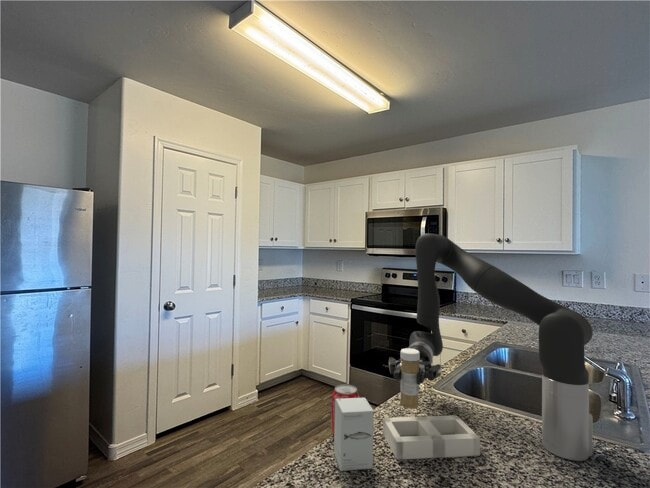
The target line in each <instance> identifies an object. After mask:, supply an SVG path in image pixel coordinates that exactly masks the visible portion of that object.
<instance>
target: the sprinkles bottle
mask: <svg viewBox="0 0 650 488" xmlns="http://www.w3.org/2000/svg"><path fill="white" fill-rule="evenodd" d="M400 359H401V379H400V402H399V404H400V406H401V407H403V408H405V409H410V410H412V409H418V408H419V407H420V406H419V405H420V403H419V391H420V385H418V384H417V374H418V372H419V359H420V352H419V351H418V350H416V349H410V348H408V347H405V348H401V350H400Z"/></svg>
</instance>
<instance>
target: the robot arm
mask: <svg viewBox="0 0 650 488" xmlns="http://www.w3.org/2000/svg"><path fill="white" fill-rule="evenodd" d="M414 248H415V261H416V262H415V263H416V264H415V265H416V274H417V275H416V276H417V287H418V289H417V309H416V322H417V323H418V324H419V325H421V326H423V327H426V328H428V329H429V330H430V332H427V331H421V330H417V331H415V330H414V331H413V332H412V333H411V334H410V336H409V346H408V347H407V348H410V349H416V350H418V351H419V352H420V359H419V372H418V374H417V384H418V385H419V386H421V384H423V383H425V381H426V379H427V380H428V381H430V382H432V381H435V380H436V379H437V378H438V377H440V376H441V375H442V365H441V364H439V363H436V364H433V362H434V360H433V359H434V357H438V356H440V355H441V353H442V352H443V349H444V345H443V339H442V333H441V329H440V321H439V320H440V309H441V299H440V298H441V297H440V294H439V288H438V287H437V282H436V275H435V274H436V273H435V272H436V264H437V263H439V264H441V265H443V266H445V267H447V268H449V269H450V270H452V271H454V272H455V273H456V274H457V275H459V277H460V278H461V279H462V280H463V281H464V283H465V284H466V285H467V287H468V288H470V289H471V290H472V291H473V292H475V293H477V294H478V295H479V296H481V297H483V298H484V299H486V301H489V302H491V303H492V304H494V305H496V306H498V307H502V309H506V310H508V311H511V312H514V313H516V314H519V315H521V316H524V317H525V318H527V319H529V320H530V321H531V322H533V323H534V324H536V325H537V326H539V327H538V357H539V359H538V360H539V363H540V366H541V371H542V372H541V375H542V376H541V378H542V379H541V383H542V384H541V385H542V386H541V394H542V395H541V445H542V447H543V448H544V449H545V450H546V451H548V452H549V453H551V454H553V455H554V456H557V457H559V458H562V459H566V460H571V461H575V462H580V461H582V462H583V461H586V460H588V459H589V457H593V456H594V455H593V451H594V450H593V447H594V446H593V445H594V444H593V443H594V442H593V440H594V439H593V437H594V435H593V426H594V425H593V424H594V423H593V419H594V418H593V417H594V416H593V414H592V413H590V409H589V408H590V405H589V403H590V402H589V401H590V397H589V395H590V392H589V390H590V388H589V387H590V386H589V382H590V379H589V378H590V377H589V375H590V373H589V371H588V369H587V367H586V365H585V364H586V362H585V361H586V360H585V345H587V344H589V343H590V342H591V340H592V338H593V336H594V335H593V334H594V331H593V327H592V325H591V323H590V322H589V321H588V319H587V317H585V316H583V314H581V313H579V312H578V311H575V310H573V309H571V308H568V307H567V306H564V305H563V304H559V303H558V302H555V301H553V300H552V299H549V298H547V297H545V296H543V294H540V293H538V292H536V291H535V290H534V289H532V288H531V287H529V286H527V285H526V284H524V283H523V282H521V280H519V279H516V278H515V277H513V276H511V275H510V274H509V273H506V272H505V271H504V270H502V269H500V268H498V267H496V266H494V265H493V264H491V263H489V262H487V261H485V260H484V259H481V258H480V257H477V256H475V255H473V254H471V253H469V252H467V251H466V250H464V249H463V248H461V247H460V246H459V245H457V244H456V243H455V242H454V241H452V240H451V239H449V238H448V237H446V236H444V235H442V234H436V233H431V232H430V233H428V232H427V233H423V234H421V235H420V236H419V237H418V238H417V240H416V243H415V247H414ZM388 358H389V359H388V369H389V373H390V375H393V379H395V381H397V382H400V381H401V358H399V359H398V360H396V359H395V358H394V357H391V356H390V357H388ZM432 364H433V365H432Z"/></svg>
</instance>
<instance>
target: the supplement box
mask: <svg viewBox="0 0 650 488" xmlns="http://www.w3.org/2000/svg"><path fill="white" fill-rule="evenodd" d="M374 412H375V410H374V409H373V408H372V406H371V404H370V403H369V402H368V399H366V397H363V396H362V397H359V398H343V399H335V430H334V436H333V439H334V440H333V453H334V456H335V459H336V463H337V466H338V469H339V471H340V472H345V471H355V470H372V469H373V464H374V462H373V461H374V460H373V459H374V458H373V456H374V455H373V454H374V419H375V417H374V414H375V413H374Z"/></svg>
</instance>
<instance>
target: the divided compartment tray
mask: <svg viewBox="0 0 650 488" xmlns="http://www.w3.org/2000/svg"><path fill="white" fill-rule="evenodd" d="M382 435H383V436H384V439H385V440H386V443H387V445H388V446H389V448H390V450H391V451H392V453H393V456H394V458H395V459H396V460H416V459H417V460H418V459H435V458H436V459H438V458H439V459H440V458H455V457H456V458H459V457H476V456H480V455H481V438H480V436H479V435H478V434H477V433H476V432H474V431H473V430H472V429H471V427H469V426H468V425H467V424H466V423H465V422H464V421H463V420H462V418H460V417H459V416H458V415H455V414H454V415H432V416H430V415H428V416H403V417H401V416H400V417H383V418H382Z"/></svg>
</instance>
